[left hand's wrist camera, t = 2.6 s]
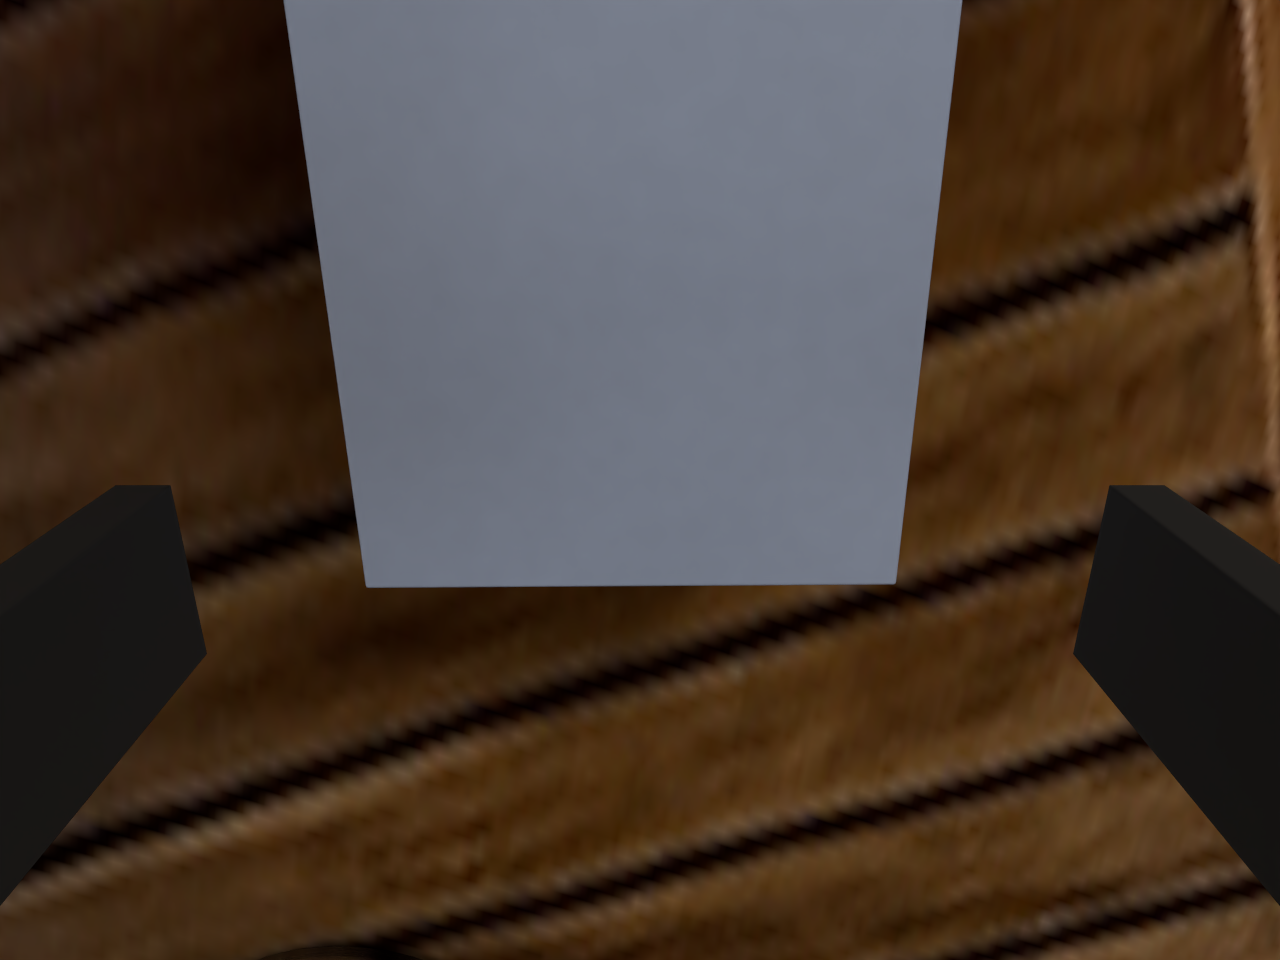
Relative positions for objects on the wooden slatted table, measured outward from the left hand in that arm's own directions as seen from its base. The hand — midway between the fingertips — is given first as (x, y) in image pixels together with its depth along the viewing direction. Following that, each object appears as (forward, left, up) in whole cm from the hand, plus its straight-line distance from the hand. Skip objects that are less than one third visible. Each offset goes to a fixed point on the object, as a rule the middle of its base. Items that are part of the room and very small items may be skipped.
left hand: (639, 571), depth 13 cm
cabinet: (+2, +6, -14) cm, 16 cm away
